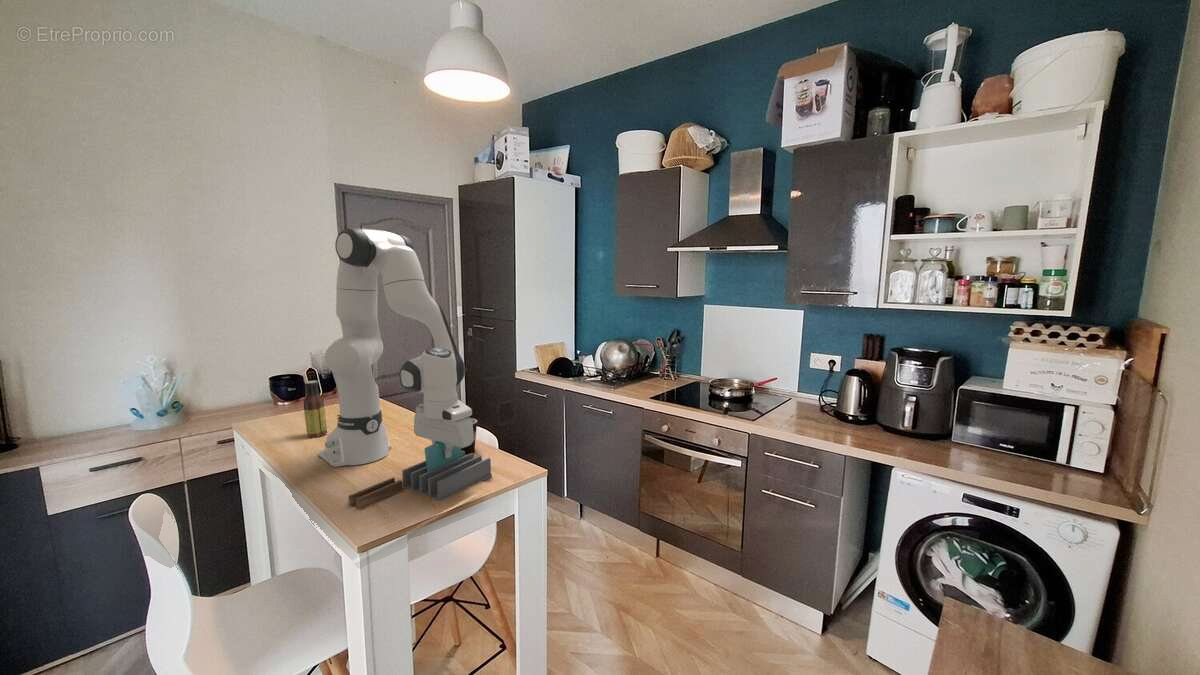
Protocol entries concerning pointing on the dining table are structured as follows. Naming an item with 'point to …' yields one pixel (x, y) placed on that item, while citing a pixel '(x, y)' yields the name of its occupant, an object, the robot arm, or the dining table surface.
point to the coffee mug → (471, 447)
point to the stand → (375, 493)
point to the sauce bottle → (314, 410)
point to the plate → (439, 455)
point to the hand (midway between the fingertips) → (443, 456)
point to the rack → (447, 476)
